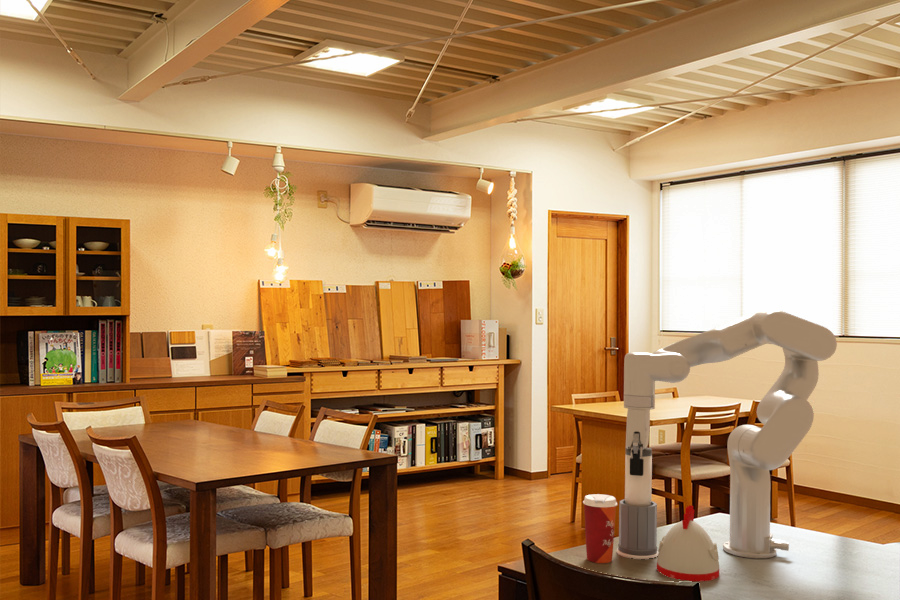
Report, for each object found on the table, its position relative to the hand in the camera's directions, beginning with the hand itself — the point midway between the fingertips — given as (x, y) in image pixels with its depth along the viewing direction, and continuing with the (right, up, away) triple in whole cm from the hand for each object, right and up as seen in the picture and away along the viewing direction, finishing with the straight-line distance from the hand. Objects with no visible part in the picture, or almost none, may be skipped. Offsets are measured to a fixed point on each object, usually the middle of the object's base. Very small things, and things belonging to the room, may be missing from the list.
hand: (638, 471), depth 207 cm
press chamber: (0, -20, 0) cm, 20 cm away
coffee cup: (-11, -20, -6) cm, 24 cm away
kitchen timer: (+8, -21, -14) cm, 26 cm away
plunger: (0, -12, 0) cm, 12 cm away
